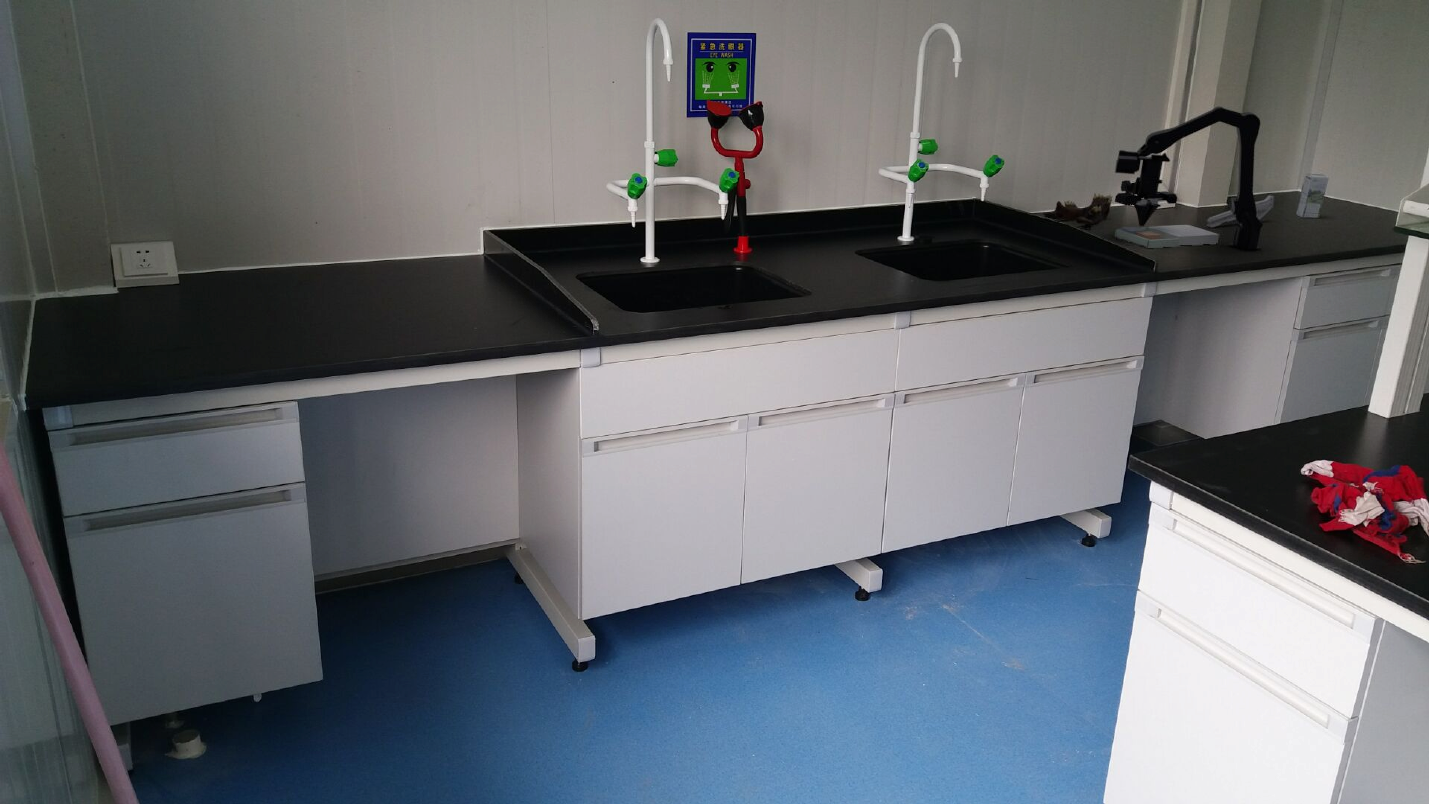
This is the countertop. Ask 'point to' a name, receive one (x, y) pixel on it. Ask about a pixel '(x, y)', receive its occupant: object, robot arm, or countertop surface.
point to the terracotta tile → (1148, 235)
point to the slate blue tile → (1132, 230)
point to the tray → (1146, 240)
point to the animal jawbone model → (1083, 211)
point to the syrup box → (1312, 195)
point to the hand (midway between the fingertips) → (1141, 226)
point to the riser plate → (1186, 234)
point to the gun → (1260, 206)
